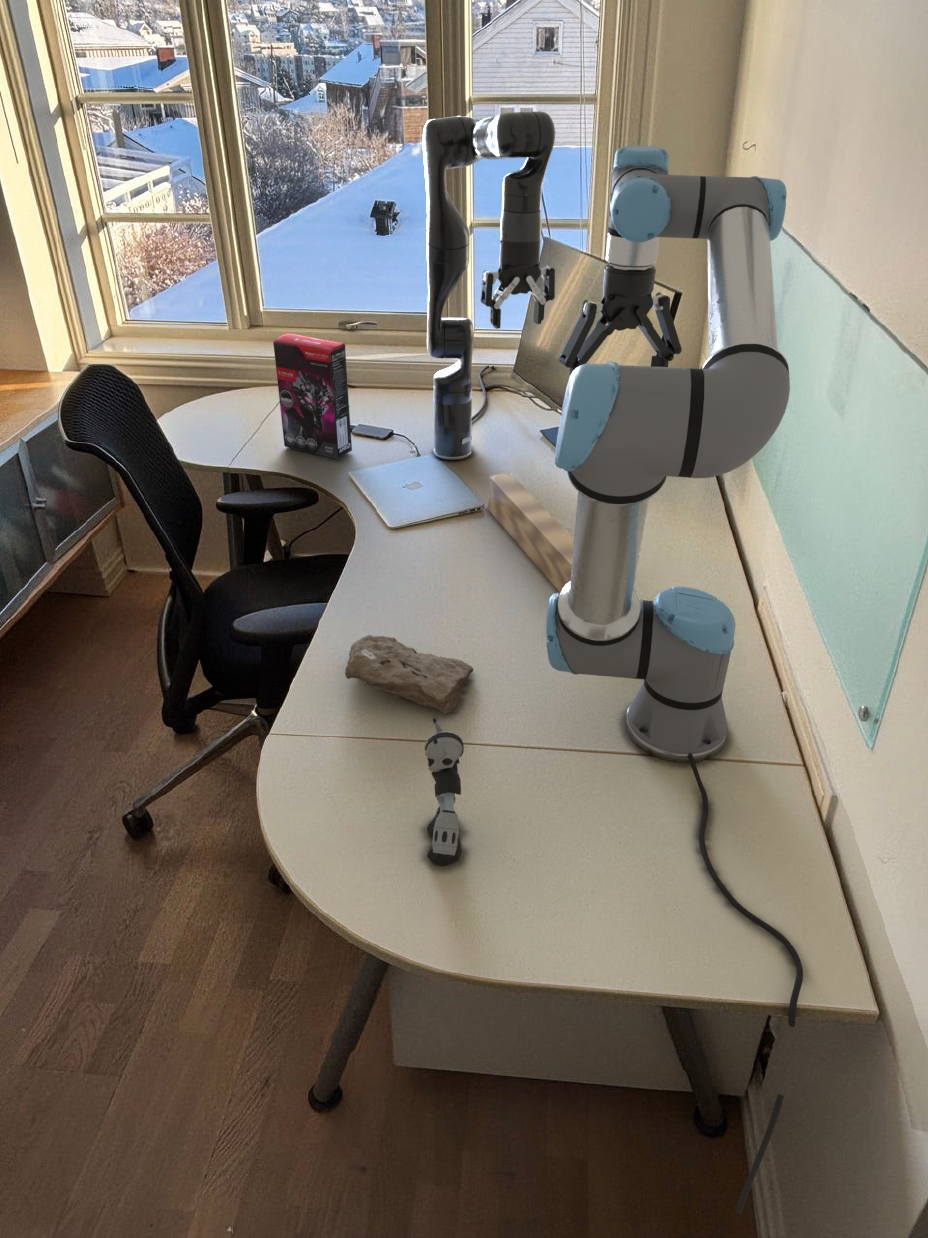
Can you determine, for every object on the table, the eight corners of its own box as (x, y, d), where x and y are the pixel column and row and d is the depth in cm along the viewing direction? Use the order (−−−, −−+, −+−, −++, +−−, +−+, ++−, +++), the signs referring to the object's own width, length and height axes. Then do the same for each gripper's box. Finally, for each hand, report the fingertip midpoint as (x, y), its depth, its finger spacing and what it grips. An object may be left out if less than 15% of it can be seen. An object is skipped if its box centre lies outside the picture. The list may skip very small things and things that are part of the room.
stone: (320, 686, 146) (326, 652, 144) (355, 651, 160) (362, 621, 157) (443, 730, 143) (452, 697, 140) (469, 692, 156) (477, 661, 154)
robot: (466, 900, 116) (468, 784, 104) (427, 902, 115) (425, 785, 104) (459, 789, 132) (460, 678, 121) (425, 790, 132) (423, 679, 120)
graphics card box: (282, 447, 232) (270, 339, 217) (298, 438, 237) (288, 331, 222) (338, 461, 225) (330, 350, 210) (354, 451, 230) (347, 342, 215)
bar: (618, 627, 167) (623, 589, 162) (594, 632, 165) (598, 594, 161) (508, 506, 206) (510, 472, 202) (488, 509, 205) (488, 475, 200)
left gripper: (547, 229, 173) (542, 316, 182) (476, 234, 169) (475, 323, 178) (564, 237, 168) (558, 327, 177) (492, 242, 163) (489, 334, 172)
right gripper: (689, 252, 142) (671, 386, 154) (542, 264, 134) (535, 404, 146) (717, 263, 136) (696, 401, 148) (565, 277, 129) (555, 421, 140)
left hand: (516, 325), depth 177 cm, fingers open, 8 cm apart
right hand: (616, 403), depth 147 cm, fingers open, 13 cm apart
